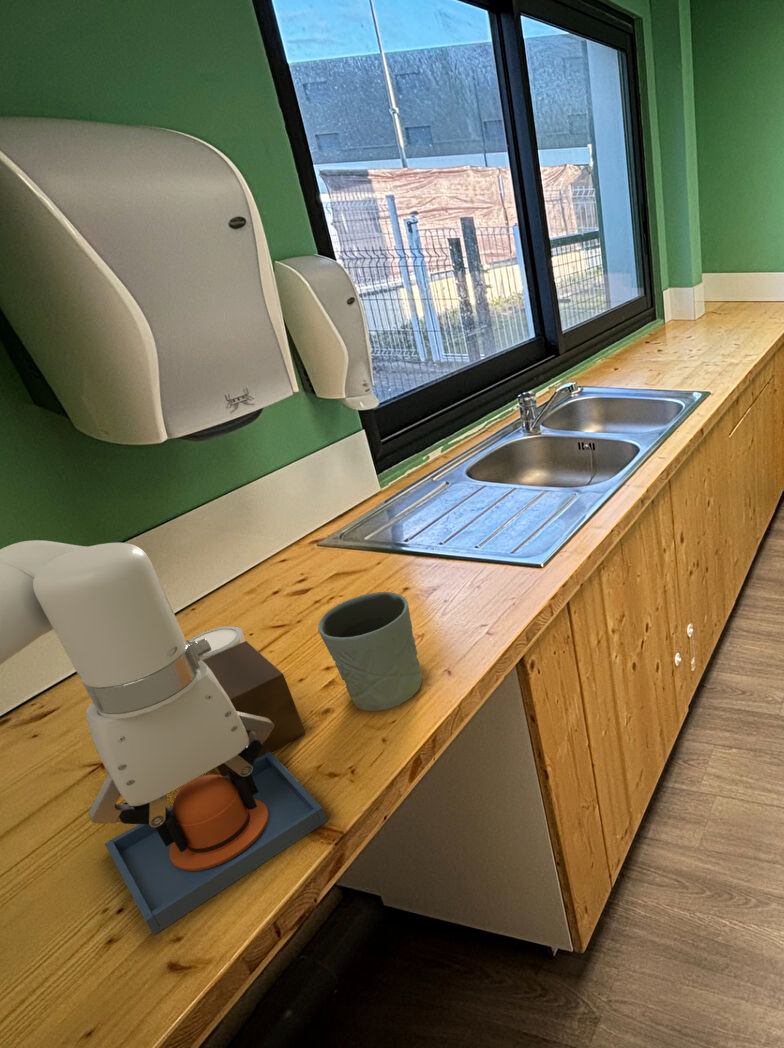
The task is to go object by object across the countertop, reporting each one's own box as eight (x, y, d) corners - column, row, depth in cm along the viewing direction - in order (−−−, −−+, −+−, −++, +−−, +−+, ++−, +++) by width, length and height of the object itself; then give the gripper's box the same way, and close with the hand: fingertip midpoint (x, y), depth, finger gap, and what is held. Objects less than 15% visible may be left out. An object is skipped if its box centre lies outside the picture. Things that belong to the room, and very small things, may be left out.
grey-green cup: (442, 669, 95) (423, 594, 90) (398, 721, 86) (374, 640, 81) (376, 663, 97) (353, 589, 92) (326, 713, 88) (298, 634, 83)
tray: (154, 935, 62) (145, 920, 61) (112, 857, 70) (104, 843, 69) (328, 821, 72) (322, 807, 72) (275, 764, 80) (269, 751, 79)
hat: (187, 887, 65) (158, 834, 62) (159, 841, 70) (131, 790, 67) (282, 826, 71) (260, 776, 68) (250, 788, 76) (228, 739, 73)
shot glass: (186, 695, 92) (166, 652, 89) (233, 664, 98) (216, 622, 95) (226, 704, 90) (207, 660, 87) (271, 671, 96) (255, 629, 93)
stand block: (222, 779, 78) (194, 717, 74) (189, 737, 85) (161, 678, 81) (305, 733, 85) (283, 673, 81) (268, 697, 91) (246, 640, 87)
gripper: (234, 618, 70) (289, 754, 78) (8, 714, 58) (99, 863, 66) (264, 644, 66) (319, 785, 74) (26, 753, 54) (121, 907, 62)
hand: (214, 820), depth 70 cm, fingers closed on hat, 5 cm apart
